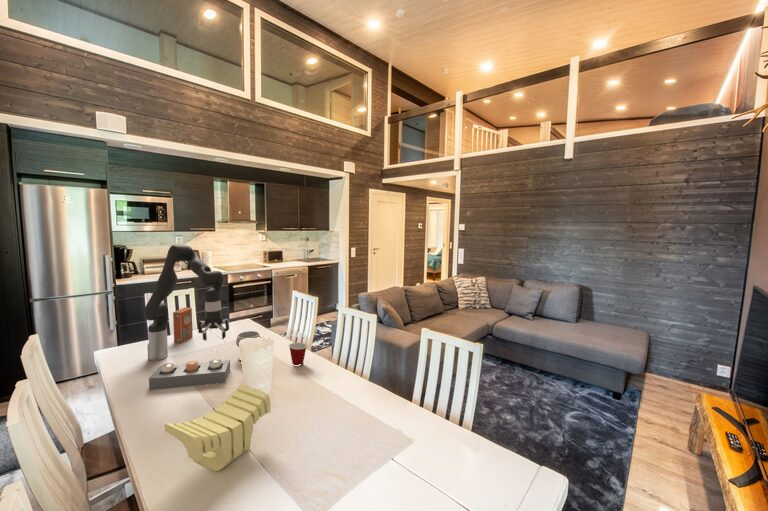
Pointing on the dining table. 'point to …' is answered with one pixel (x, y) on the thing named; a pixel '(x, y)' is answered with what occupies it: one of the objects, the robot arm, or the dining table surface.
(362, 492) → the dining table surface
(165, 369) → the left knob
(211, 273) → the robot arm
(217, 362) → the right knob
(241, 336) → the chalice
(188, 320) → the orange cracker box
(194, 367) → the middle knob
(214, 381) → the console
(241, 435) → the slatted curved stool
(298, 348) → the plastic cup
